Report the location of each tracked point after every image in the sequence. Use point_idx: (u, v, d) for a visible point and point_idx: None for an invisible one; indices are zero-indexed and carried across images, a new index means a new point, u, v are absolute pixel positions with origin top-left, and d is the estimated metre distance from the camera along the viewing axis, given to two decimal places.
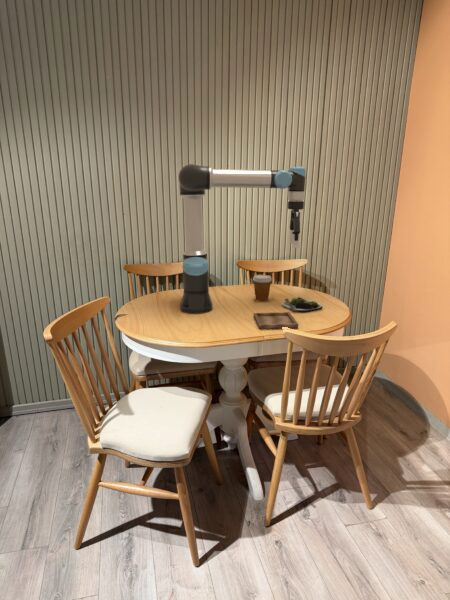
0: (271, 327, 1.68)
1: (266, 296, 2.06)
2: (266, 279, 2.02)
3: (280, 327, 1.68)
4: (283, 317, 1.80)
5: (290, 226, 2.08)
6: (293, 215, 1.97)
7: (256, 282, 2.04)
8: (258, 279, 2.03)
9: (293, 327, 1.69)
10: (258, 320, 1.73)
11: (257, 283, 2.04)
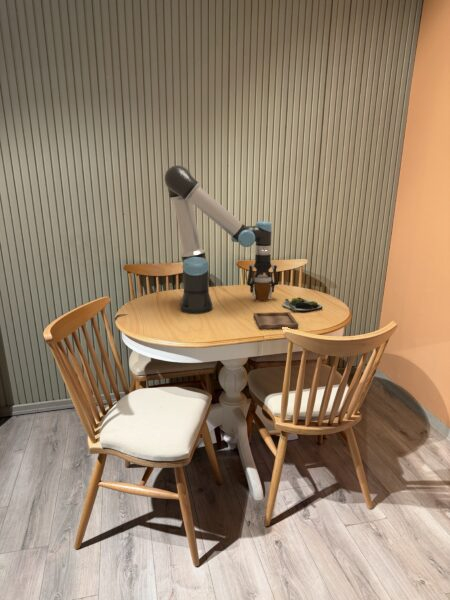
0: (271, 327, 1.68)
1: (266, 296, 2.06)
2: (266, 279, 2.02)
3: (280, 327, 1.68)
4: (283, 317, 1.80)
5: None
6: None
7: (256, 282, 2.04)
8: (258, 279, 2.03)
9: (293, 327, 1.69)
10: (258, 320, 1.73)
11: (257, 283, 2.04)
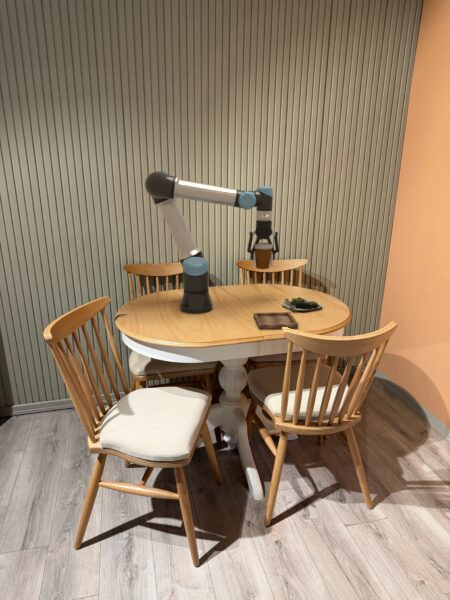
0: (271, 327, 1.68)
1: (267, 264, 2.02)
2: (267, 246, 1.98)
3: (280, 327, 1.68)
4: (283, 317, 1.80)
5: None
6: None
7: (257, 249, 1.99)
8: (259, 246, 1.98)
9: (293, 327, 1.69)
10: (258, 320, 1.73)
11: (258, 250, 1.99)
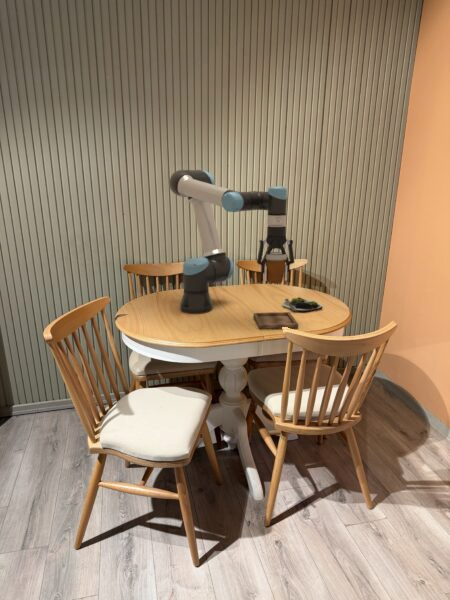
0: (271, 327, 1.68)
1: (280, 277, 1.72)
2: (281, 256, 1.69)
3: (280, 327, 1.68)
4: (283, 317, 1.80)
5: None
6: None
7: (269, 260, 1.70)
8: (271, 256, 1.69)
9: (293, 327, 1.69)
10: (258, 320, 1.73)
11: (270, 261, 1.70)
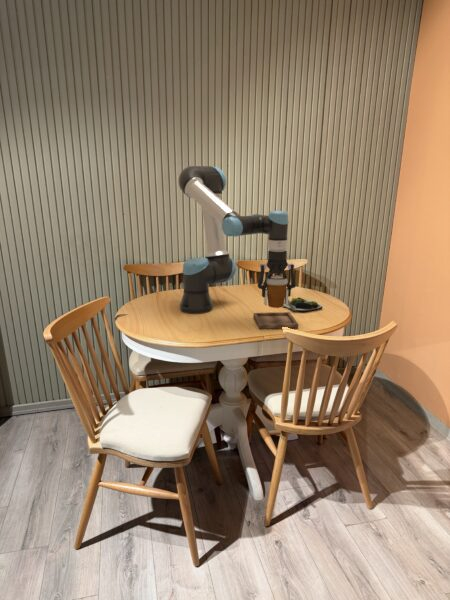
0: (271, 327, 1.68)
1: (281, 301, 1.71)
2: (281, 281, 1.67)
3: (280, 327, 1.68)
4: (283, 317, 1.80)
5: None
6: None
7: (269, 284, 1.68)
8: (272, 281, 1.67)
9: (293, 327, 1.69)
10: (258, 320, 1.73)
11: (270, 286, 1.68)
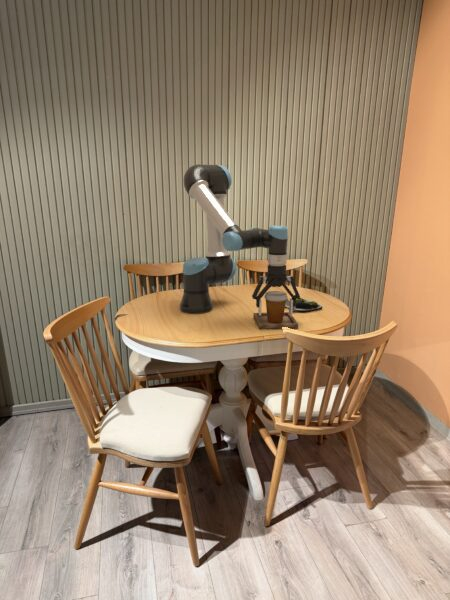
0: (271, 327, 1.68)
1: (280, 317, 1.73)
2: (281, 297, 1.69)
3: (280, 327, 1.68)
4: (283, 317, 1.80)
5: None
6: None
7: (269, 300, 1.70)
8: (271, 297, 1.69)
9: (293, 327, 1.69)
10: (258, 320, 1.73)
11: (270, 302, 1.70)
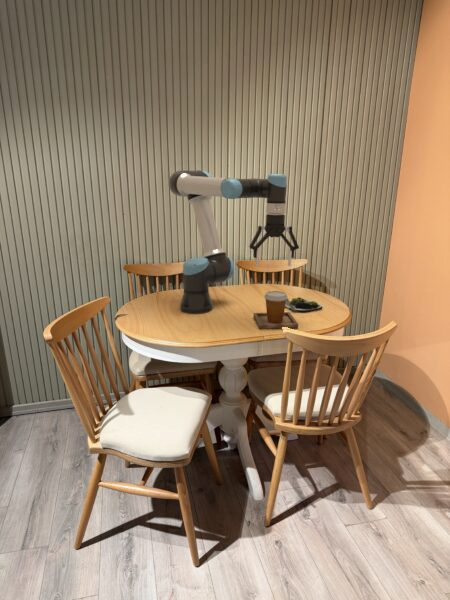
0: (271, 327, 1.68)
1: (280, 317, 1.73)
2: (281, 297, 1.69)
3: (280, 327, 1.68)
4: (283, 317, 1.80)
5: None
6: None
7: (269, 300, 1.70)
8: (271, 297, 1.69)
9: (293, 327, 1.69)
10: (258, 320, 1.73)
11: (270, 302, 1.70)
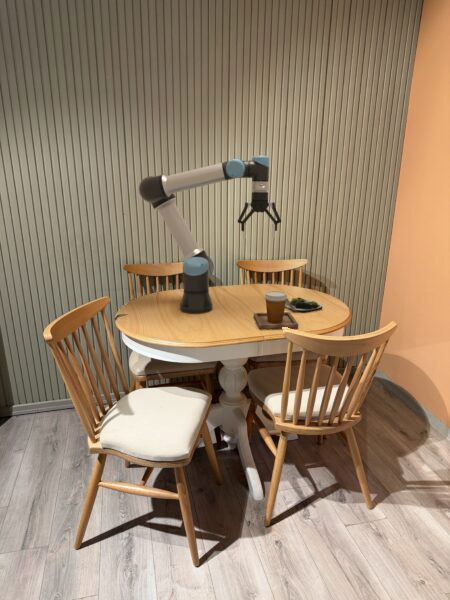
0: (271, 327, 1.68)
1: (280, 317, 1.73)
2: (281, 297, 1.69)
3: (280, 327, 1.68)
4: (283, 317, 1.80)
5: None
6: None
7: (269, 300, 1.70)
8: (271, 297, 1.69)
9: (293, 327, 1.69)
10: (258, 320, 1.73)
11: (270, 302, 1.70)
